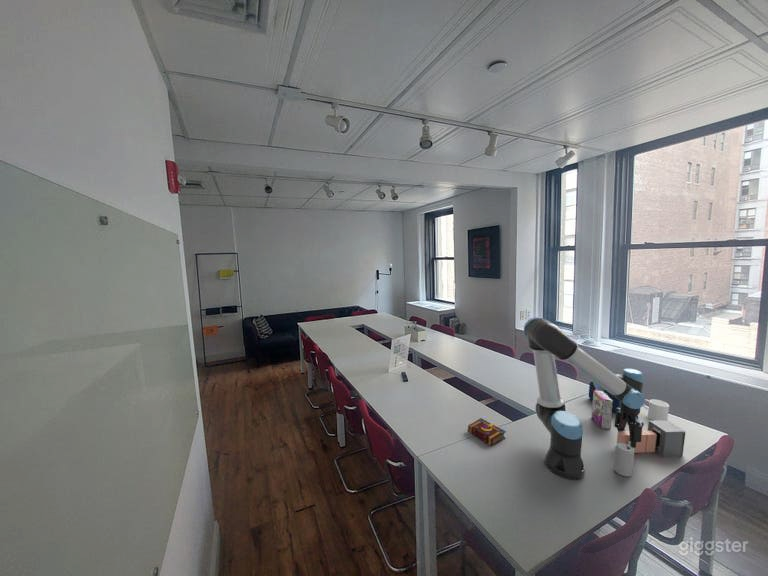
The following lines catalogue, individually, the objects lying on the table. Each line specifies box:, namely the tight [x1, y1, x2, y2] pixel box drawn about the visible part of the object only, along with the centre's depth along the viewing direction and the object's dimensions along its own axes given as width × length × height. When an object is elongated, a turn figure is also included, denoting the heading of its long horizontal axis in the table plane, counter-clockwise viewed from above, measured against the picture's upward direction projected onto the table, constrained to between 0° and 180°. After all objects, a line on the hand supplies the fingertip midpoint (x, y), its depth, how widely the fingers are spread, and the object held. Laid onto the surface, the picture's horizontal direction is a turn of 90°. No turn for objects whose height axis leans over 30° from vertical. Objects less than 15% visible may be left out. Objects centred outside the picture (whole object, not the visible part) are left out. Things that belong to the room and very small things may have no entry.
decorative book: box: [467, 417, 507, 447], centre depth 158 cm, size 11×16×5 cm
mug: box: [642, 399, 670, 421], centre depth 170 cm, size 8×12×10 cm
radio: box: [588, 381, 620, 415], centre depth 182 cm, size 21×9×20 cm, turn 6°
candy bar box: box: [591, 390, 613, 430], centre depth 165 cm, size 11×5×16 cm, turn 168°
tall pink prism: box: [616, 430, 657, 454], centre depth 143 cm, size 16×3×9 cm, turn 91°
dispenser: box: [647, 420, 687, 458], centre depth 143 cm, size 9×9×12 cm
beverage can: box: [612, 442, 635, 477], centre depth 130 cm, size 6×6×12 cm
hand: (625, 448), depth 143 cm, fingers open, 5 cm apart
